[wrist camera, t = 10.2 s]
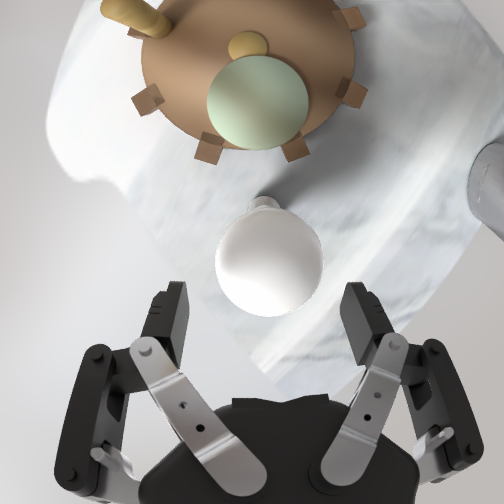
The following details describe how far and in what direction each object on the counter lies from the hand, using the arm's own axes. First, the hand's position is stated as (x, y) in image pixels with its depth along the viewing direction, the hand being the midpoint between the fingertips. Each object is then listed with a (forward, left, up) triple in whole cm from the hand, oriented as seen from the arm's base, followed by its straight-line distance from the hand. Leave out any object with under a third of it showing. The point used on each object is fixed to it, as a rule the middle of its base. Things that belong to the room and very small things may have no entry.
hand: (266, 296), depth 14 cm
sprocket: (+1, -12, -11) cm, 17 cm away
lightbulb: (0, 0, -11) cm, 11 cm away
